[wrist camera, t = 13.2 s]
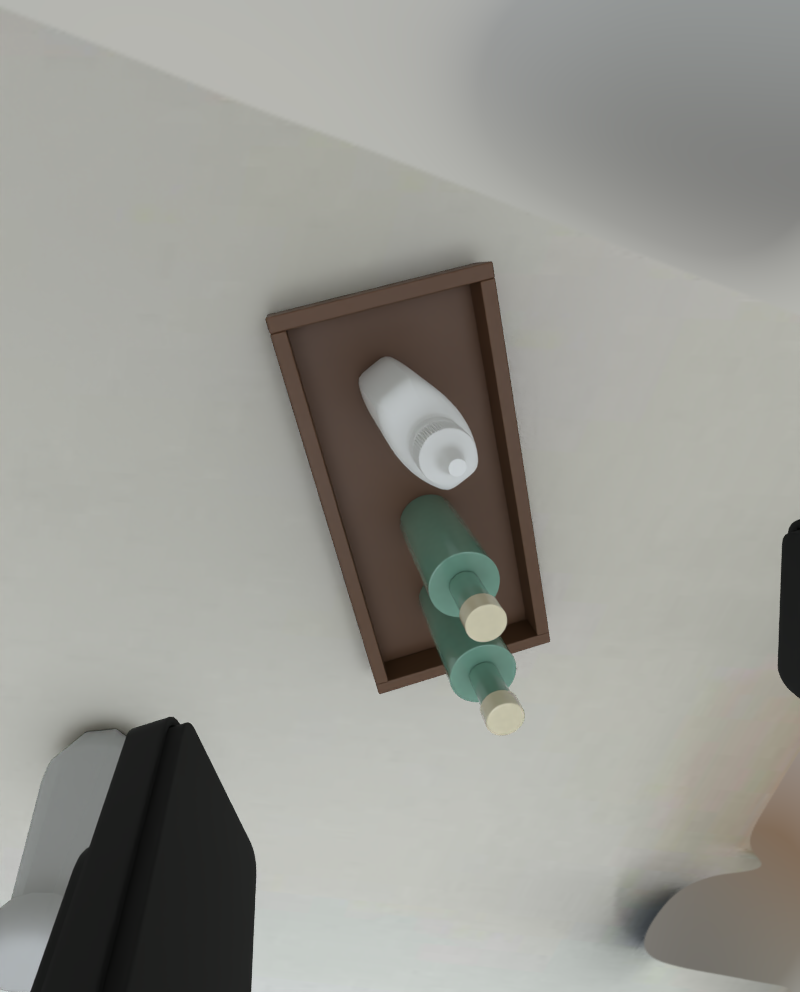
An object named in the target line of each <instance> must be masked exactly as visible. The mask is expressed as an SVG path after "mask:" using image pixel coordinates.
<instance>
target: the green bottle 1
mask: <svg viewBox="0 0 800 992" xmlns="http://www.w3.org/2000/svg"><path fill="white" fill-rule="evenodd" d="M400 530H401V533H402V536H403V538H404V540H405V543H406V545H407V547H408V549H409V552H410V554H411V556H412V559H413V561H414V563H415V566H416V568H417V570H418V572H419V575H420V577H421V579H422V582H423V584H424V586H425V588H426V591H427V593H428V595H429V598H430V600H431V602H432V603H433V605H434V606H435V607H436V608H437V609H438V610H439V611H440V612H442V613H444V614H446V615H449V616H453V617H460V621H461V623H462V625H463V627H464V629H465V631H466V633H467V635H468V636H469V637H470V638H471V639H473V640H475V641H478V642H488V641H491V640H494V639H496V638H497V637H498V636H500V635H501V634H502V633H503V631H504V630H505V628H506V625H507V615H506V613H505V611H504V610H503V608H502V606H501V605H500V603H499V602H498V600H497V599H496V598H495V596H496V594H497V592H498V589H499V584H500V575H499V571H498V568H497V566H496V565H495V563H494V562H493V560H492V559H491V558H490V556H489V555H488V553H487V552H486V551H485V549H484V548H483V546H482V545H481V544H480V542H479V541H478V539H477V538H476V537H475V535H474V534H473V532H472V531H471V530H470V528H469V527H468V525H467V524H466V523H465V521H464V520H463V519H462V517H461V516H460V514H459V513H458V512H457V510H456V509H455V507H454V506H453V505H452V503H451V502H450V501H449V500H447V499H446V498H444V497H442V496H439V495H432V494H430V495H423V496H420V497H418V498H416V499H414V500H413V501H411V502H410V503H409V504H408V505H407V506H406V507H405V509H404V510H403V512H402V515H401V518H400Z"/></svg>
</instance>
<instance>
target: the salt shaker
mask: <svg viewBox="0 0 800 992" xmlns="http://www.w3.org/2000/svg"><path fill="white" fill-rule="evenodd" d="M125 739H126V736H125V735H124V734H122V733H121V732H120V731H118V730H117V729H111V730H102V731H92V732H85V733H84V734H83V735H82V736H80V737H79V738H78V739H77V740H76V741H74V742H73V743H72V744H71V745H70V746H68V747H67V748H66V749H65V750H63V751H62V752H61V753H60V754H58V755H57V756H56V757H54V758H53V759H52V761H51V762H50V763H49V765H48V767H47V769H46V772H45V774H44V777H43V779H42V781H41V785H40V789H39V793H38V797H37V801H36V804H35V808H34V812H33V816H32V820H31V824H30V828H29V832H28V836H27V839H26V843H25V847H24V851H23V855H22V859H21V863H20V867H19V871H18V874H17V878H16V882H15V886H14V890H13V894H12V898H11V900H10V901H8V902H7V903H6V904H5V905H3V906H2V907H1V908H0V990H4V991H8V992H30V991H31V988H32V985H33V982H34V979H35V977H36V974H37V971H38V968H39V965H40V962H41V959H42V957H43V954H44V951H45V948H46V945H47V942H48V939H49V937H50V934H51V931H52V928H53V925H54V922H55V919H56V917H57V914H58V911H59V908H60V905H61V902H62V899H63V897H64V894H65V891H66V888H67V885H68V882H69V879H70V877H71V874H72V871H73V868H74V866H75V864H76V862H77V860H78V858H79V856H80V855H81V854H82V853H83V851H84V850H85V849H86V848H88V847H89V846H90V843H91V840H92V837H93V834H94V831H95V828H96V825H97V822H98V819H99V816H100V813H101V810H102V807H103V804H104V801H105V798H106V795H107V792H108V789H109V786H110V783H111V780H112V777H113V774H114V771H115V768H116V765H117V762H118V759H119V757H120V754H121V751H122V748H123V745H124V742H125Z"/></svg>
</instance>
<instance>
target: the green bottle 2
mask: <svg viewBox="0 0 800 992" xmlns="http://www.w3.org/2000/svg"><path fill="white" fill-rule="evenodd" d="M419 606H420V609H421V611H422V614H423V616H424V619H425V622H426V624H427V627H428V629H429V632H430V634H431V637H432V639H433V642H434V644H435V647H436V649H437V652H438V654H439V657H440V660H441V662H442V665H443V667H444V670H445V672H446V675H447V677H448V680H449V682H450V685H451V687H452V689H453V691H454V692H455V693H456V694H457V695H458V696H459V697H460V698H462V699H464V700H467V701H471V702H479V703H480V705H481V707H480V712H481V715H482V717H483V720H484V722H485V724H486V727H487V729H488V730H489V731H490V732H491V733H493V734H495V735H500V736H503V735H508V734H511V733H513V732H515V731H516V730H518V729H519V728H520V726H521V725H522V724H523V721H524V718H525V713H524V710H523V708H522V706H521V704H520V702H519V701H518V699H517V697H516V695H515V694H514V693H512V692H510V690H509V688H508V687H509V686H510V685H511V683H512V682H513V679H514V677H515V673H516V663H515V659H514V657H513V655H512V654H511V652H510V650H509V649H508V647H507V645H506V643H505V642H504V640H503V638H502V637H501V635H500V636H498V637H497V638H496V639H494V640H491V641H488V642H478V641H475V640H473V639H471V638H470V637H469V636H468V635H467V633H466V631H465V629H464V627H463V625H462V623H461V621H460V617H453V616H449V615H446V614H444V613H442V612H440V611H439V610H438V609H437V608H436V607H435V606H434V605H433V603H432V602H431V600H430V598H429V595H428V593H427V591H426V588H425V586H424V585H423V587H422V589H421V591H420V594H419Z"/></svg>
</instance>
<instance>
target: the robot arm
mask: <svg viewBox="0 0 800 992" xmlns="http://www.w3.org/2000/svg"><path fill="white" fill-rule="evenodd" d="M778 671H779V674H780V677H781V679H782V681H783V682H784V684H785V685H786V686H787V688H788V689H789V690H790V691H791V692H792V693H794V694H795V695H796V696H797V697H799V698H800V520H797V521H795V522H793V523H792V524H791V526H790V527H789V530H788V534H786V535H785V536H784V538H783V542H782V562H781V590H780V618H779V647H778ZM255 891H256V861H255V855H254V851H253V847H252V845H251V842H250V840H249V838H248V836H247V834H246V832H245V830H244V828H243V826H242V824H241V822H240V820H239V818H238V816H237V814H236V812H235V810H234V808H233V806H232V804H231V802H230V800H229V798H228V796H227V794H226V792H225V790H224V788H223V786H222V784H221V782H220V780H219V778H218V776H217V773H216V771H215V769H214V767H213V765H212V763H211V761H210V759H209V757H208V755H207V753H206V751H205V749H204V747H203V745H202V743H201V741H200V739H199V737H198V735H197V733H196V731H195V729H194V727H193V726H192V725H191V724H190V723H184V724H181V725H180V724H179V722H178V720H176V719H175V718H174V717H168V718H165V719H162V720H158V721H155V722H152V723H149V724H146V725H142V726H139V727H136V728H133V729H131V730H130V731H129V732H128V734H127V736H126V739H125V742H124V745H123V748H122V751H121V754H120V757H119V759H118V762H117V765H116V768H115V771H114V774H113V777H112V780H111V783H110V786H109V789H108V792H107V795H106V798H105V801H104V804H103V807H102V810H101V813H100V816H99V819H98V822H97V825H96V828H95V831H94V834H93V837H92V840H91V843H90V846H89V847H88V848H86V849H85V850H84V851H83V853H82V854H81V855H80V856H79V858H78V860H77V862H76V864H75V866H74V868H73V871H72V874H71V877H70V879H69V882H68V885H67V888H66V891H65V894H64V897H63V899H62V902H61V905H60V908H59V911H58V914H57V917H56V919H55V922H54V925H53V928H52V931H51V934H50V937H49V939H48V942H47V945H46V948H45V951H44V954H43V957H42V959H41V962H40V965H39V968H38V971H37V974H36V977H35V979H34V982H33V985H32V988H31V991H30V992H251V982H252V959H253V936H254V914H255Z"/></svg>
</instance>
